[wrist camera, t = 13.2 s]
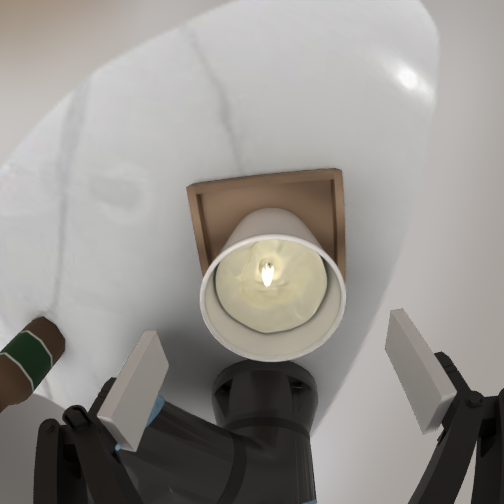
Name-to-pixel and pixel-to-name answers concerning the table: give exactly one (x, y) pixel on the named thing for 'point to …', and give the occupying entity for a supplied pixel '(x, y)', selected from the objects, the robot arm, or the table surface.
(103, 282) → the table surface
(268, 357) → the candle holder
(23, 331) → the beer bottle
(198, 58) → the table surface
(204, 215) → the tray
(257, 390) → the robot arm
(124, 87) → the table surface
